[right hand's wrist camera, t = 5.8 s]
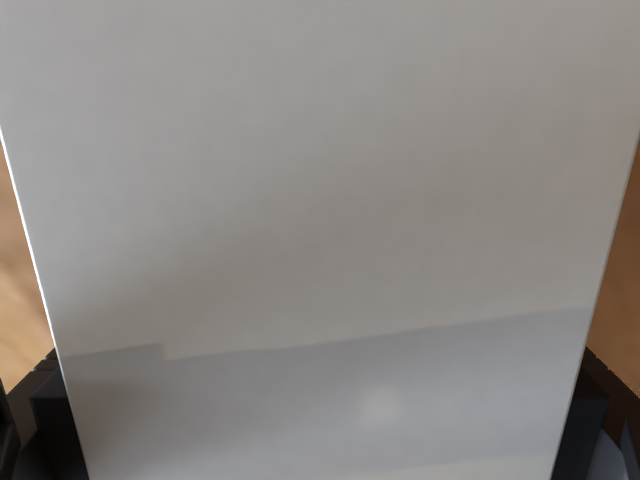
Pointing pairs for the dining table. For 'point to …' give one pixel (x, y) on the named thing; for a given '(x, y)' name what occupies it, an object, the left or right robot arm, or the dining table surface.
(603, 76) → the thick board
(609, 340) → the dining table surface
